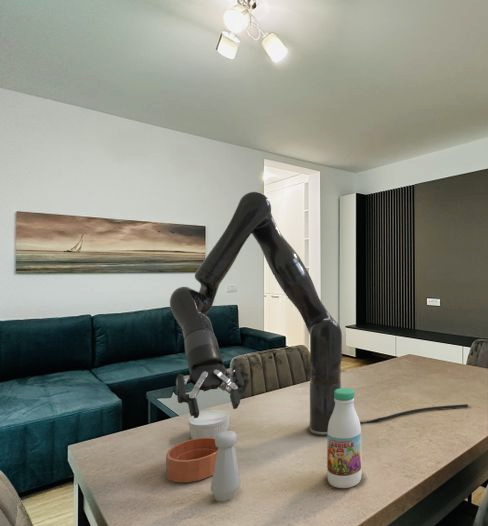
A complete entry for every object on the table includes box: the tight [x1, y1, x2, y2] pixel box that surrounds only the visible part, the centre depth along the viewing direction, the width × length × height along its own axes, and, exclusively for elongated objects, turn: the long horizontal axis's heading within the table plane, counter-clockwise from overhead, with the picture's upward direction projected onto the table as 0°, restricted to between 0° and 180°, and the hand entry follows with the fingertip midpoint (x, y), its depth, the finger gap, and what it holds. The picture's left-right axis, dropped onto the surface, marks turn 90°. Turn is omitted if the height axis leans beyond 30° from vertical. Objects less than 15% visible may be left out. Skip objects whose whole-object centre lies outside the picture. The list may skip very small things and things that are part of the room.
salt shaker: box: [210, 430, 241, 503], centre depth 78 cm, size 6×6×13 cm
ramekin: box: [187, 409, 231, 439], centre depth 108 cm, size 11×11×5 cm
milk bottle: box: [326, 387, 363, 489], centre depth 85 cm, size 8×8×20 cm
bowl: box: [165, 437, 218, 483], centre depth 89 cm, size 12×12×5 cm
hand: (217, 411), depth 84 cm, fingers open, 8 cm apart
